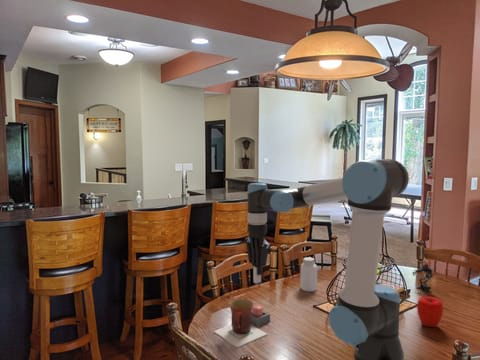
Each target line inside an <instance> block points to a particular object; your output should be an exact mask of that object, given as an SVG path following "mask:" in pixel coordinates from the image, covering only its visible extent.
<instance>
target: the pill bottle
mask: <svg viewBox="0 0 480 360" xmlns="http://www.w3.org/2000/svg"><path fill="white" fill-rule="evenodd" d="M299 281H300V290H302V291H304V292H315V291H317V290H318V289H317V288H318V266H317V263H315V258H314V257H310V256H309V257H304V258H303V259H302V263H301V265H300V280H299Z"/></svg>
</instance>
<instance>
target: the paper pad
mask: <svg viewBox="0 0 480 360" xmlns="http://www.w3.org/2000/svg"><path fill="white" fill-rule="evenodd" d="M213 333H214V334H216V335H217V336H219V337H220V338H222V339H223V340H224V341H226V342H228V343H229V344H231V345H232V346H233V347H235V348H237V349H238V348H240V347H243V346H245V345H247V344H249V343H251V342H254V341H256V340H259V339H261V338H264V337H266V336H267V335H268V333H267V332H265V331H263V330H261V329H260V328H258V327H256V326H254V325H251V330H250V331H249V332H248V333H246V334H237V333H235V332H234V331H233V330H232V325H231V324H229V325H227V326H224V327H221V328H219V329H216V330H214V331H213Z"/></svg>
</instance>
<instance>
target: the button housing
mask: <svg viewBox="0 0 480 360" xmlns="http://www.w3.org/2000/svg"><path fill="white" fill-rule="evenodd" d="M270 322H271V314H270V313H268V312H266V311H265V310H263V316H260V317H255V316H253V315H252V310H251V324H252V325H253V326H254V327H256V328H258V327H260V326H263V325H265V324H268V323H270Z"/></svg>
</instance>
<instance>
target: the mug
mask: <svg viewBox="0 0 480 360" xmlns="http://www.w3.org/2000/svg"><path fill="white" fill-rule="evenodd" d="M253 306H254V302H253V301H252V300H249V299H247V298H237V299H234V300H232V301H230V302H229V308H230V312H231V324H230V325H232V330H233V331H234V332H235V333H237V334H246V333H248V332H249V331H250V330H251V325H252V324H251V311H252V307H253Z"/></svg>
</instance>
